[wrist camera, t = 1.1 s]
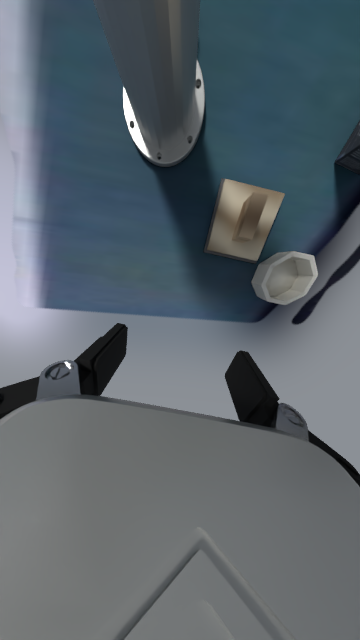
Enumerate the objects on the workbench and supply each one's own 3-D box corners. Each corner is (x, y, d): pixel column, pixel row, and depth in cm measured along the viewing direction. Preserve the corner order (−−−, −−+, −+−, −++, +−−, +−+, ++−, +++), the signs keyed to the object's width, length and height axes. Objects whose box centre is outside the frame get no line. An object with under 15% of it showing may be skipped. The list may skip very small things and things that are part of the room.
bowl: (264, 249, 28) (278, 247, 24) (307, 259, 28) (328, 259, 24) (246, 294, 32) (254, 298, 28) (283, 302, 32) (297, 307, 28)
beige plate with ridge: (223, 182, 23) (233, 162, 18) (280, 196, 24) (304, 180, 19) (206, 249, 28) (211, 247, 23) (254, 260, 28) (268, 260, 23)
